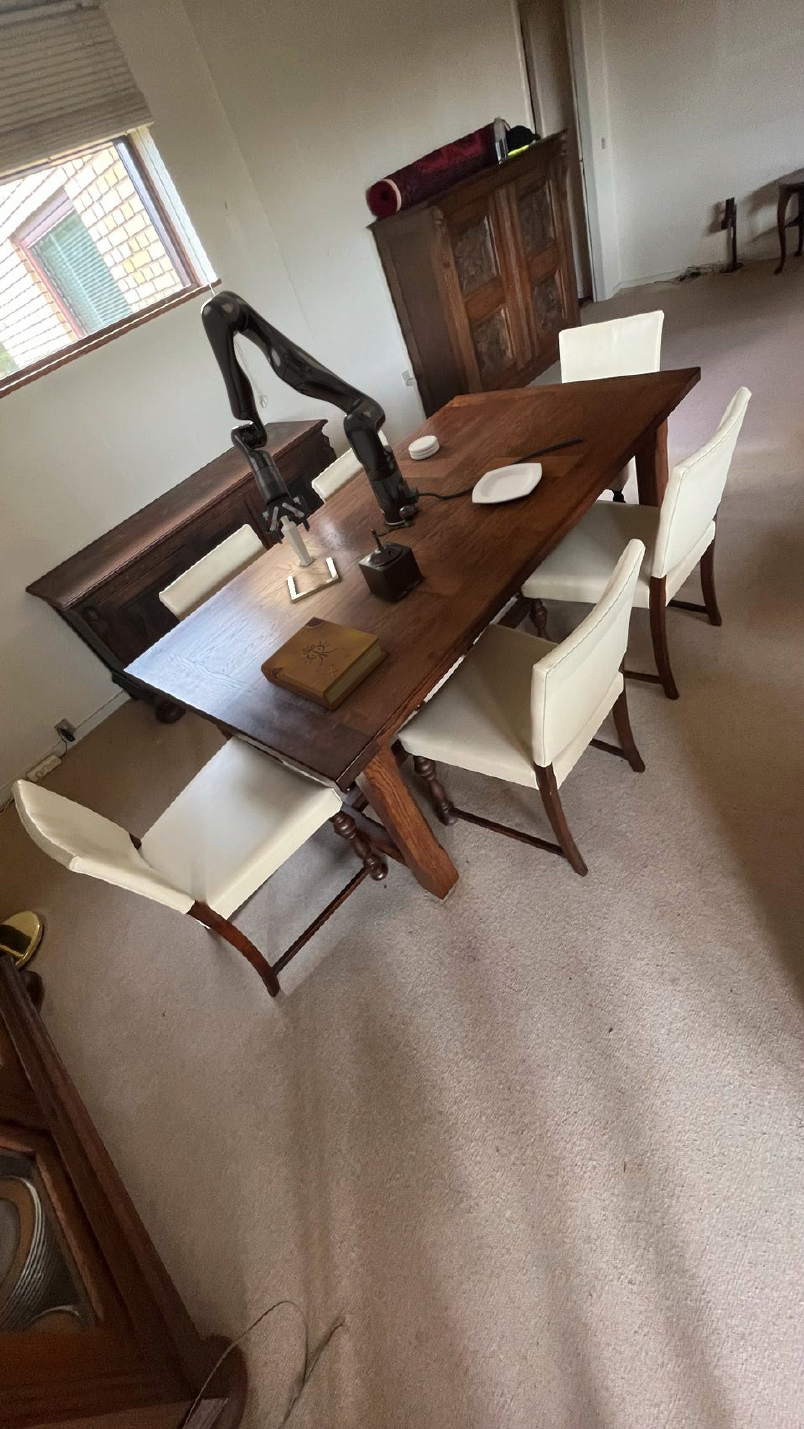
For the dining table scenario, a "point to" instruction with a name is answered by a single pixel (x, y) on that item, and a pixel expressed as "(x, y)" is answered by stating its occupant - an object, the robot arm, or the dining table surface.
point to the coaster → (424, 447)
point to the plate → (507, 483)
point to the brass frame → (316, 588)
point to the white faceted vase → (295, 541)
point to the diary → (323, 662)
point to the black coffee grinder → (392, 564)
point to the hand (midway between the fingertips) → (294, 536)
